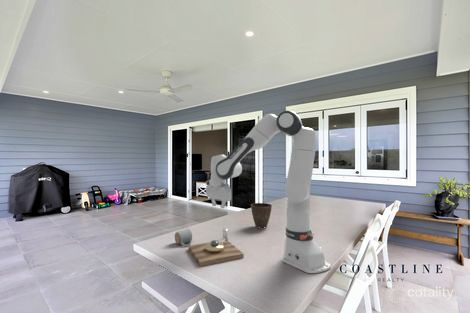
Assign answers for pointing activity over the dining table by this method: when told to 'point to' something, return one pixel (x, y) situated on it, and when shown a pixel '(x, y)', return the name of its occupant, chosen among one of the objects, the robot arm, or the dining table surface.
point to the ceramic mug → (183, 237)
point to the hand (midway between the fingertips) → (218, 207)
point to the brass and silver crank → (217, 243)
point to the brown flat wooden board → (214, 254)
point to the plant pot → (261, 214)
